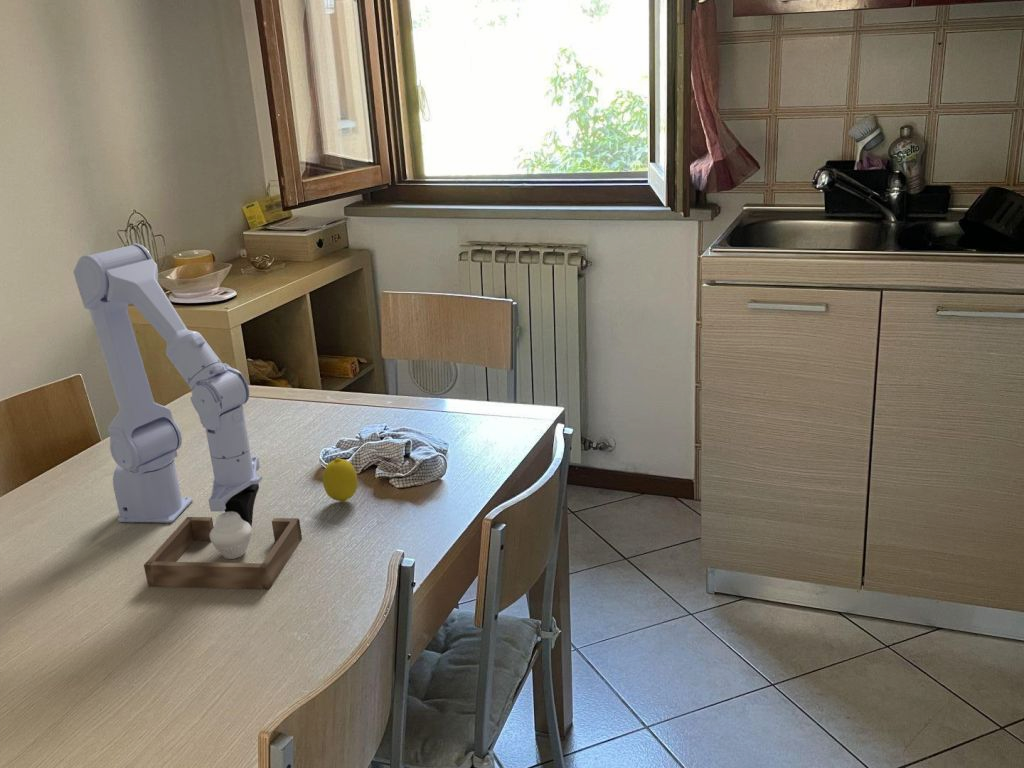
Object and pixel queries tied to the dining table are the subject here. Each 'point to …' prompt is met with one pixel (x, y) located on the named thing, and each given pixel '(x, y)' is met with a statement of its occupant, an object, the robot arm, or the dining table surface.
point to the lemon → (340, 480)
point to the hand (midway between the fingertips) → (243, 531)
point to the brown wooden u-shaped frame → (219, 575)
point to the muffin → (231, 535)
